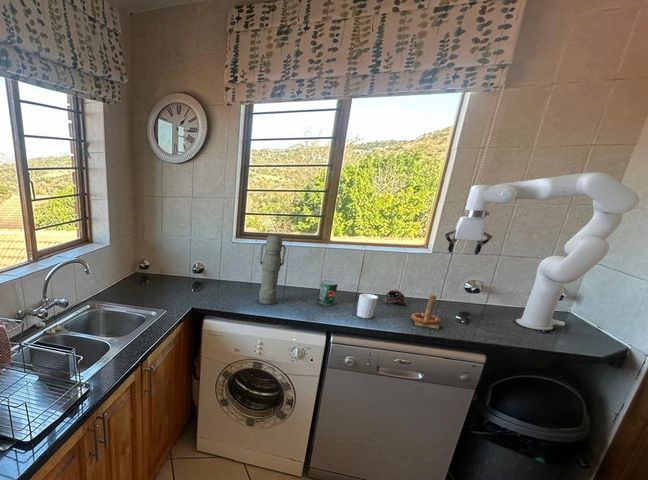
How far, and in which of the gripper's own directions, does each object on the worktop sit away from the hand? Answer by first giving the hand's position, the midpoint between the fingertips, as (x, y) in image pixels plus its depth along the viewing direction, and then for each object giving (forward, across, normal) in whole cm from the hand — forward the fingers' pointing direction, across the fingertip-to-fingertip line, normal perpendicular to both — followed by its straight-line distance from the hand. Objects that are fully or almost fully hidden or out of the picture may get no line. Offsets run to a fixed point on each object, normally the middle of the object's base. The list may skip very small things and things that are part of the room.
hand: (462, 253), depth 183 cm
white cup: (+31, +35, +19) cm, 50 cm away
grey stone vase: (+30, +81, +18) cm, 88 cm away
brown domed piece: (+31, +21, -10) cm, 38 cm away
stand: (+30, +10, +18) cm, 37 cm away
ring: (+28, +11, +18) cm, 35 cm away
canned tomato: (+30, +53, +5) cm, 61 cm away
